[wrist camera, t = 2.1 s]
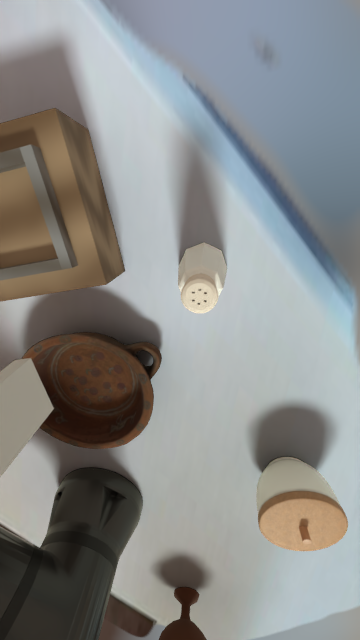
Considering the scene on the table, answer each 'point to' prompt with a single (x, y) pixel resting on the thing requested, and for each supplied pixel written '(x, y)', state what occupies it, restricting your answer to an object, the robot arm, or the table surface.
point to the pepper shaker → (201, 277)
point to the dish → (95, 388)
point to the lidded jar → (298, 507)
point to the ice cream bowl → (183, 618)
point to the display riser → (52, 209)
